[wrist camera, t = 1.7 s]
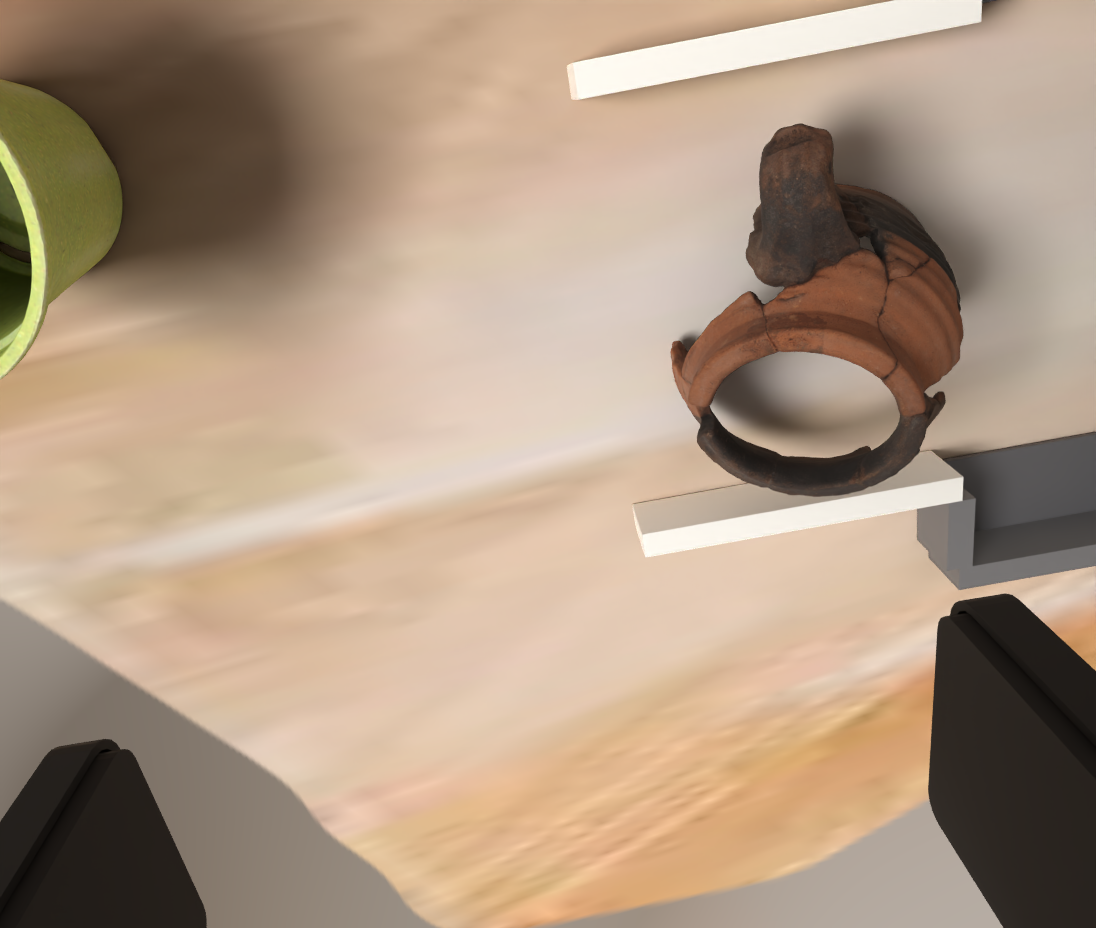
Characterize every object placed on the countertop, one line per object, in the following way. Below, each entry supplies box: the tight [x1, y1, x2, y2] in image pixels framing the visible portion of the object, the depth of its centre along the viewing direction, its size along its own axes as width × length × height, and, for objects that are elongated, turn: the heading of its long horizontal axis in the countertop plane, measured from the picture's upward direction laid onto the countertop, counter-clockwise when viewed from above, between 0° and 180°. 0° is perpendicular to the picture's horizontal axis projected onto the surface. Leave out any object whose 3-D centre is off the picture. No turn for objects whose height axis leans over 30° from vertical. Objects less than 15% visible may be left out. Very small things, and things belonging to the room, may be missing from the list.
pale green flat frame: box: [567, 0, 1096, 590], centre depth 28 cm, size 28×25×2 cm
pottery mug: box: [671, 124, 963, 497], centre depth 27 cm, size 12×10×8 cm
